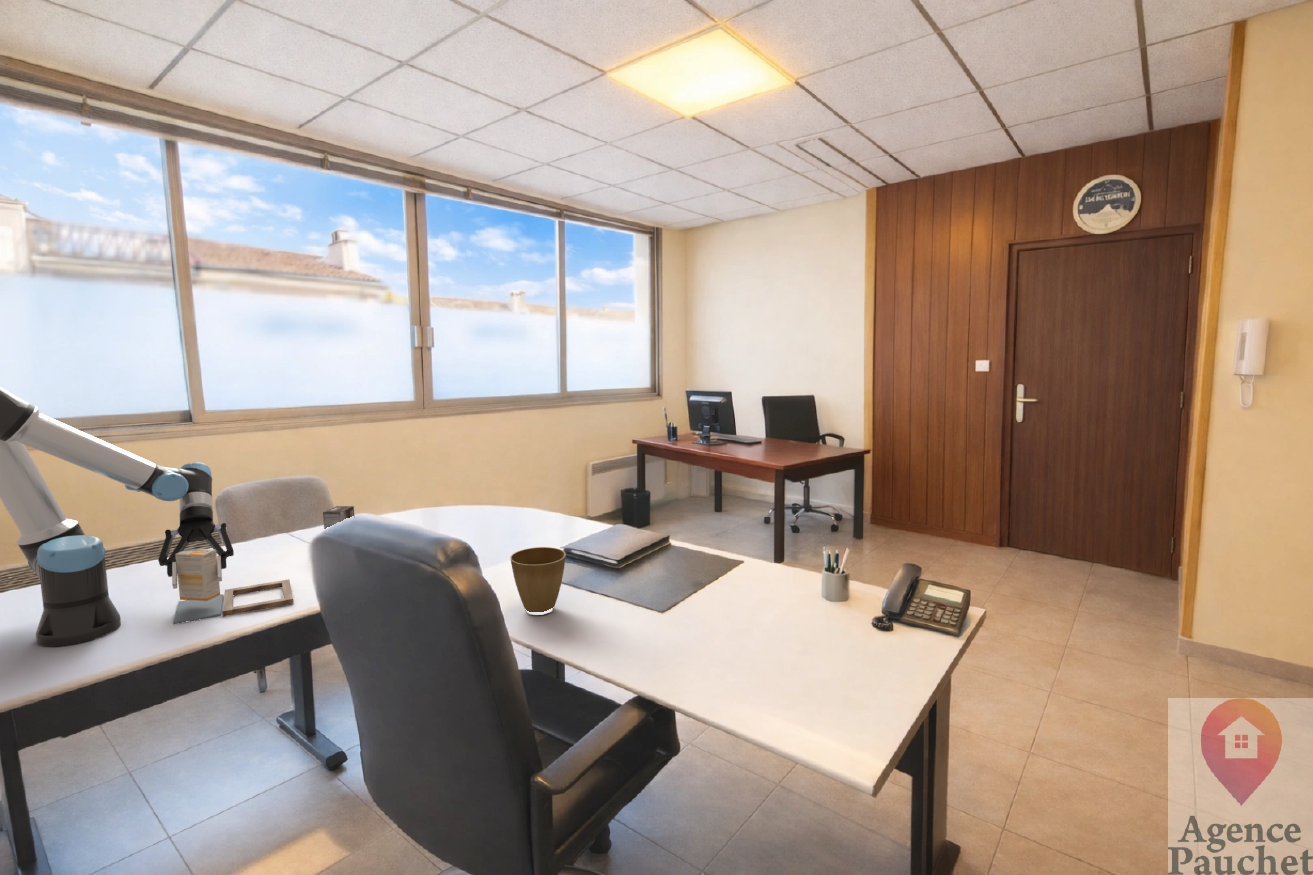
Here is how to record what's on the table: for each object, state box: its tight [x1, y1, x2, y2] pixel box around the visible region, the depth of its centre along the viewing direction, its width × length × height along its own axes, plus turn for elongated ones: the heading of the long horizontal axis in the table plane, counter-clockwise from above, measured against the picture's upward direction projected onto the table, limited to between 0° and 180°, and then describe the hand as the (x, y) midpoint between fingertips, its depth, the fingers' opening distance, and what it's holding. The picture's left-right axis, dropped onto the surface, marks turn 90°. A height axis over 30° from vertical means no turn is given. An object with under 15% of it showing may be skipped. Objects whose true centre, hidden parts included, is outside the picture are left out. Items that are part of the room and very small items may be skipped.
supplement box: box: [175, 548, 221, 601], centre depth 163 cm, size 8×5×13 cm, turn 84°
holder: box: [222, 578, 294, 617], centre depth 171 cm, size 16×18×2 cm
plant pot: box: [509, 546, 567, 612], centre depth 165 cm, size 15×15×16 cm
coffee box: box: [322, 505, 355, 529], centre depth 212 cm, size 9×6×16 cm
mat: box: [172, 593, 224, 625], centre depth 163 cm, size 10×16×1 cm, turn 34°
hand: (197, 582), depth 160 cm, fingers closed on supplement box, 9 cm apart
